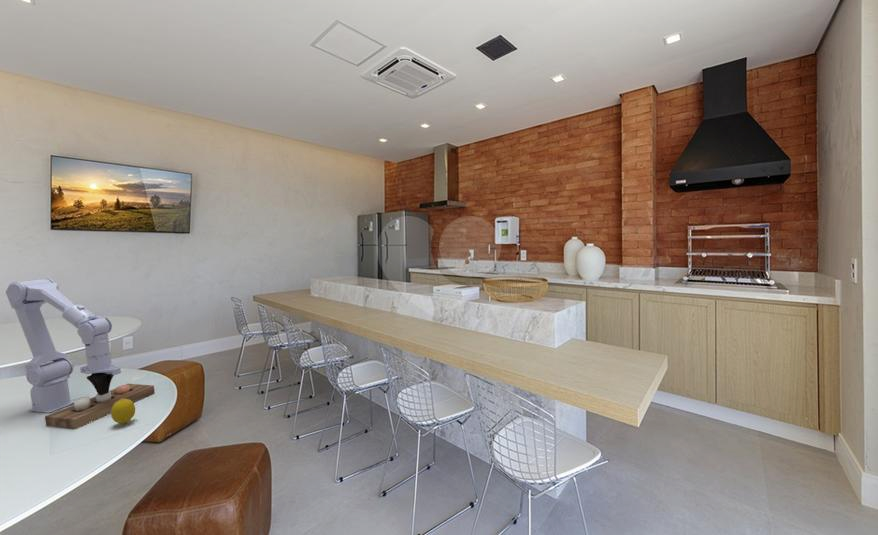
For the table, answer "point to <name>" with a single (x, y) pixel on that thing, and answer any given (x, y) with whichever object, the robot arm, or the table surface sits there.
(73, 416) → the walnut board
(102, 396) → the grey plug middle
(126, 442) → the table surface
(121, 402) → the lemon
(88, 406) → the grey plug right
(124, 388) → the terracotta plug
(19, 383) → the table surface
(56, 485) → the table surface
